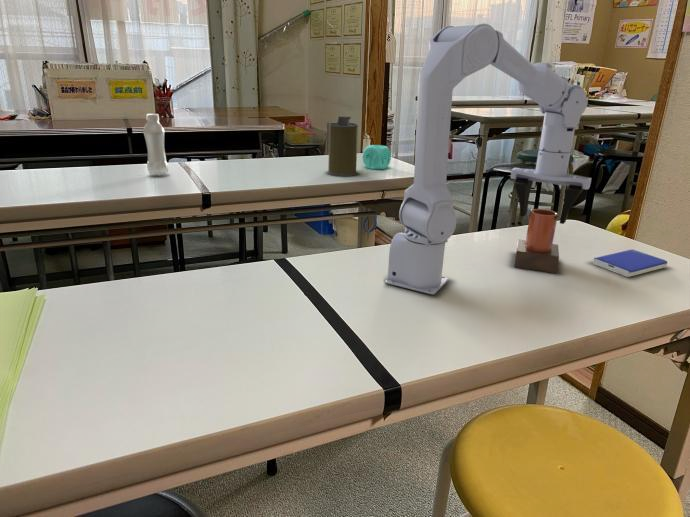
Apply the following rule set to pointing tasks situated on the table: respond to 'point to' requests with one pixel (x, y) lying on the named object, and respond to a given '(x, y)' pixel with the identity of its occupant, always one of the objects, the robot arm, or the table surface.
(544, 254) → the block
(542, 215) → the cup
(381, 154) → the decorative dice
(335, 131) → the canister
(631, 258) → the hard drive
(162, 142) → the plastic bottle
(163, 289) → the table surface
